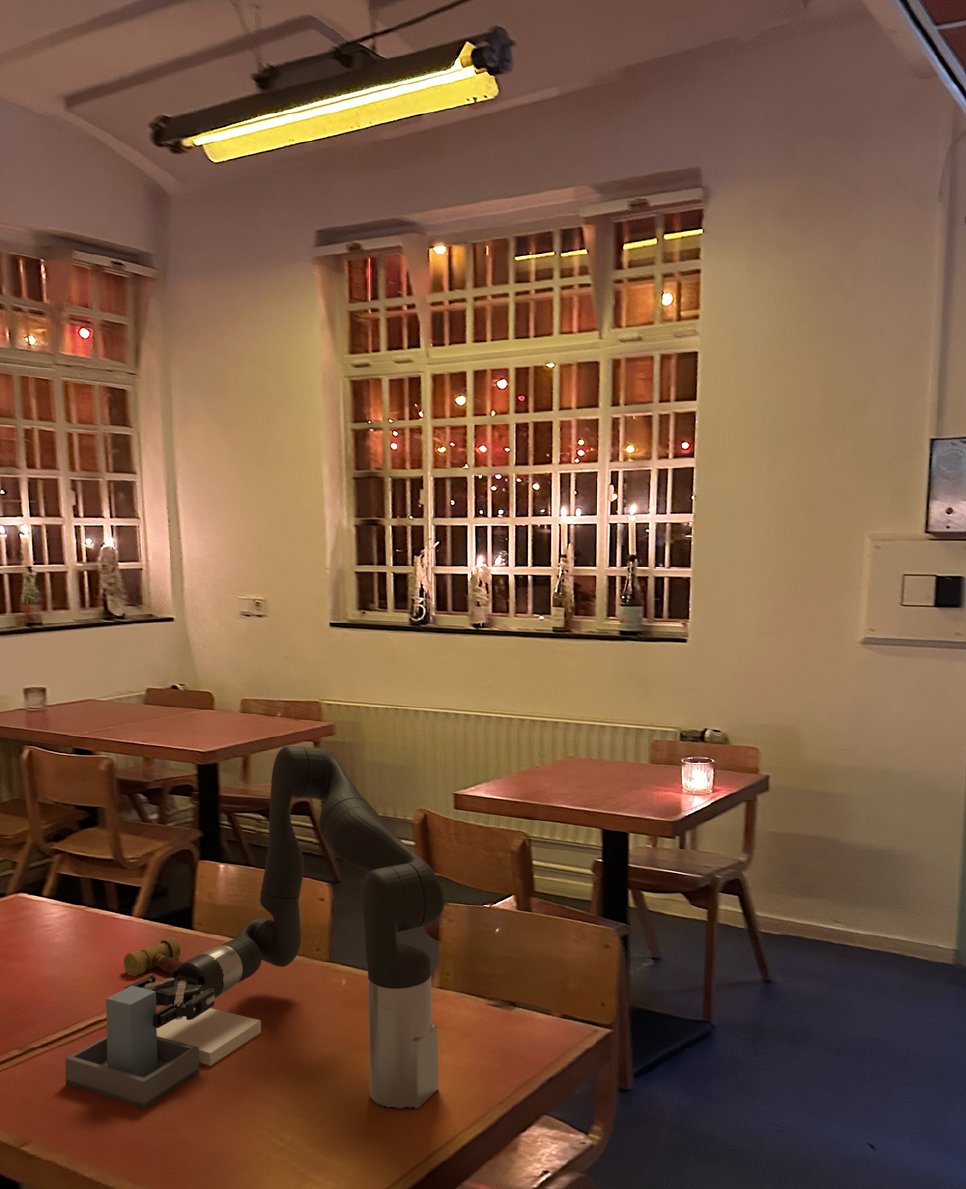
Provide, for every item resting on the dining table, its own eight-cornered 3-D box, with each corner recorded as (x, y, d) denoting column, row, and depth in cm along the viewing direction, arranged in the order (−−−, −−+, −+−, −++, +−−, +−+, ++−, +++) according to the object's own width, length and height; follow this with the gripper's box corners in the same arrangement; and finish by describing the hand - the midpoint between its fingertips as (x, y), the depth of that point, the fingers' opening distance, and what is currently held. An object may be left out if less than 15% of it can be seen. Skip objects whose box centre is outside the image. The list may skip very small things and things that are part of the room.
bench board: (260, 1032, 159) (260, 1020, 159) (210, 1065, 148) (210, 1052, 148) (188, 1014, 166) (188, 1002, 166) (135, 1044, 155) (135, 1032, 155)
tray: (199, 1073, 146) (198, 1047, 146) (144, 1109, 136) (143, 1081, 136) (123, 1051, 153) (122, 1026, 153) (65, 1084, 143) (65, 1057, 143)
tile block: (157, 1069, 146) (155, 991, 145) (132, 1085, 141) (130, 1004, 141) (133, 1062, 148) (132, 985, 148) (107, 1077, 143) (106, 998, 143)
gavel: (236, 964, 180) (192, 983, 172) (235, 987, 180) (191, 1007, 172) (167, 934, 192) (123, 950, 184) (166, 956, 192) (122, 973, 184)
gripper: (175, 946, 162) (99, 983, 148) (241, 960, 156) (168, 1000, 141) (176, 990, 162) (100, 1031, 148) (242, 1005, 156) (169, 1050, 141)
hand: (133, 1016), depth 145 cm, fingers open, 8 cm apart
